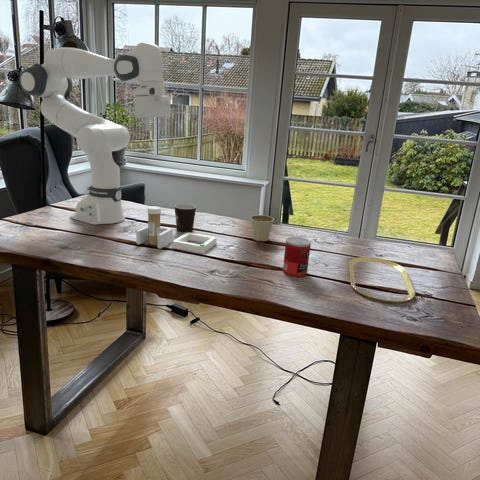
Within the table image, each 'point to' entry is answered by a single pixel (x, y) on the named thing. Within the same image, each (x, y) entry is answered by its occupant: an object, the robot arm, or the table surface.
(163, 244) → the bracket
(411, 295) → the gold ring
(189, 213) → the dark brown cup
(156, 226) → the sprinkles bottle
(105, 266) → the table surface
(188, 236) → the block
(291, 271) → the canned food
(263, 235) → the flower pot
